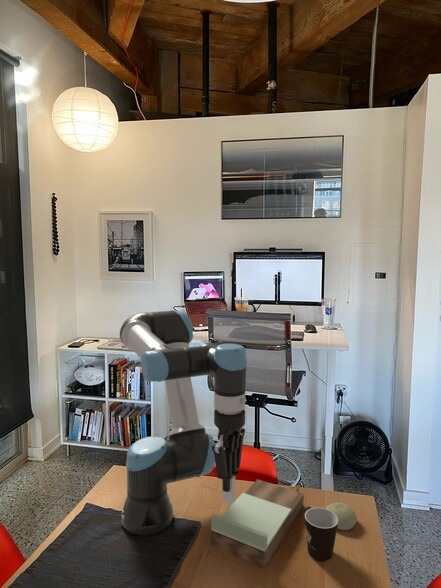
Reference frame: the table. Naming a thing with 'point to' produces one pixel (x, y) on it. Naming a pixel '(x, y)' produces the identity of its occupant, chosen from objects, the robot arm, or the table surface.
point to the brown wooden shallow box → (262, 558)
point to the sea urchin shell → (343, 515)
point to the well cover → (251, 521)
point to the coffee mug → (320, 532)
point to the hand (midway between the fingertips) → (228, 500)
